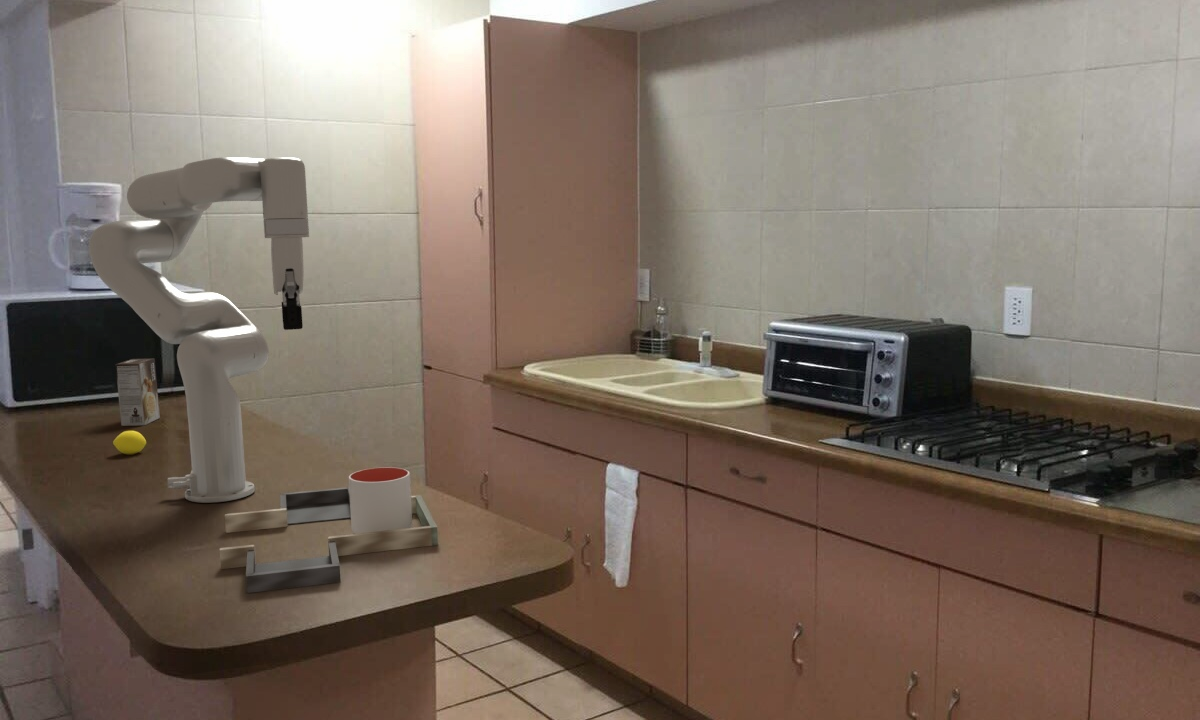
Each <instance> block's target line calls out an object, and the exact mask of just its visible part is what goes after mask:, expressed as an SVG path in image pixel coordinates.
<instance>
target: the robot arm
mask: <svg viewBox="0 0 1200 720" xmlns="http://www.w3.org/2000/svg"><path fill="white" fill-rule="evenodd" d="M307 198H308V197H307V178H306V166H305V164H304V161H303V160H302V159H300V158H297V157H268V158H259V157H256V158H255V157H253V158H252V157H235V156H234V157H233V156H232V157H230V156H229V157H222V156H221V157H214V158H208V159H203V160H197V161H192V162H189V163H187V164H185V165H184V166H183V167H178V168H175V169H169V170H163V171H159V172H154V173H153V172H152V173H148V174H145V175H142V176H139V177H138V178H136V179H135V180H134V181H132V183H130V185H129V187H128V189H127V191H126V200H127V203H128V205H129V207H130V208H131V210H132V211H133V212H135V213H136V214H137V215H139V216H140V217H143V218H146V219H135V220H134V219H127V220H126V219H125V220H124V219H123V220H114V221H111V222H107V223H104V224H102V225H100V226H98V227H97V228H95V230H93V232H92V233H91V235H90V238H89V243H88V251H89V252H88V253H89V257H90V259H91V263H92V266H93V268H94V270H95V272H96V274H97V275H98V277H99V278H100V280H101V281H102V282H103V283H104V285H106V286H107V287H108V289H110V290H111V291H112V292H113V293H114V294H115V295H117V296H118V297H119V298H120V299H122V300H123V301H124V302H125V303H126V304H127V305H129V307H130V308H131V309H132V310H133V311H134V312H135V313H136V315H138V317H140V319H142V320H143V322H145V323H146V325H147V326H148V327H149V328H150V329H151V330H152V331H153V332H154V333H155V334H156V335H157V337H159V338H160V339H162V340H163V341H164V342H166V343H168V344H172V345H179V346H178V347H177V353H176V360H177V366H178V368H179V372H180V376H181V379H182V384H183V388H184V394H185V400H186V412H187V413H186V414H187V422H188V425H187V426H188V435H189V450H190V460H191V461H190V462H191V470H190V474H185V475H184V476H180V477H179V476H172V477H167V488H169V489H171V488H173V490H178V489H185V488H186V490H185V492H184V497H185V499H186V500H187V501H189V502H194V503H201V504H203V503H205V504H206V503H207V504H208V503H211V504H214V503H222V502H223V503H224V502H229V501H235V500H239V499H242V498H245V497H247V496H250V495H252V494H253V493H254V492H255V491H256V488H255V484H254V483H253V482H251V481H248V480H247V479H246V466H245V462H246V461H245V451H244V437H243V424H242V423H243V421H242V410H241V402H240V401H241V400H240V397H239V396H238V393H237V391H236V390H235V388H234V387H233V384H232V383H231V381H230V378H234V377H240V376H244V375H250V374H253V373H256V372H258V371H259V370H261V369H263V367H265V365H266V364H267V362H268V359H269V356H270V354H269V353H270V351H269V345H268V343H267V340H266V338H265V336H264V335H263V333H262V331H260V329H259V328H258V326H256V325H255V324H254V323H253V322H252V321H251V320H250V319H249V318H248V317H247V316H246V315H245V314H244V313H243V311H241V310H240V308H238V307H237V306H236V305H235V304H234V303H233V302H232V301H231V300H230V299H228V298H227V296H224V295H222V294H220V293H217V292H213V291H200V292H199V291H198V292H183V291H180V290H179V289H178V288H177V287H175V286H174V285H173V284H172V283H171V282H170V280H168V278H166V277H165V276H164V275H163V274H162V273H160V272H158V271H156V270H154V269H153V268H152V267H149V266H146V265H144V264H153V263H166V262H169V261H172V260H174V259H176V258H177V257H179V256H180V254H181V253H182V252H183V251H184V249H185V247H186V245H187V243H188V242H189V240H190V238H191V236H192V235H193V233H194V232H195V231H194V230H195V229H196V227H197V226H198V224H199V222H200V219H201V218H202V216H203V213H204V212H206V210H208V209H210V208H211V206H212V204H213V203H222V202H261V203H262V216H263V217H262V218H263V232H264V239H270V243H271V244H270V251H271V252H270V253H271V254H270V255H271V273H272V286H273V288H272V289H273V294H274V295H276V296H278V295H279V292H281V293H282V301H281V314H282V315H281V317H282V323H283V324H282V326H283V327H282V329H283V330H285V331H288V330H302V329H303V312H302V305H301V301H300V300H301V299H300V295H301V294H302V293H303V291H304V275H305V274H304V246H303V238H310V230H309V229H310V228H309V213H308V199H307Z"/></svg>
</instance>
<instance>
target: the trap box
mask: <svg viewBox="0 0 1200 720" xmlns="http://www.w3.org/2000/svg"><path fill="white" fill-rule="evenodd" d="M279 500H280V501H279V503H280V507H279V508H273V509H264V510H254V511H243V512H231V513H225V514H224V522H225V524H224V525H225V533H226V534H227V533H236V532H237V533H239V532H247V531H257V530H265V529H268V530H269V529H277V528H278V529H279V528H287V527H288V526H291V525H300V524H308V523H310V524H311V523H318V522H319V523H321V522H330V521H338V520H339V521H340V520H348V519H349V520H351V512H350V494H349V486H348V487H338V488H337V487H336V488H325V489H316V490H305V491H304V490H303V491H294V492H285V493H279ZM411 508H412V515H413V514H415V515H417V517H418V520H419V522H420V523H421V526H414V527H411V528H405V529H396V530H386V531H377V532H368V533H358V534H354V533H350V534H343V535H340V534H339V535H331V536H330V535H329V536H327V541H328V543H327V544H328V555H327V556H326V555H324V556H316V557H315V556H314V557H308V558H307V557H306V558H298V559H290V560H282V561H281V560H280V561H272V562H271V561H270V562H263V563H257V562H256V551H255V550H256V548H255V544H247V545H238V546H236V545H235V546H227V547H220V548H219V561H220V562H219V563H220V570H226V569H235V568H243V567H246V569H245V584H246V594H250V593H260V592H268V591H276V590H284V589H293V588H301V587H311V586H318V585H326V584H335V583H336V584H337V583H341V565H340V561H339V560H340V559H339V557H341V556H352V555H360V554H367V553H368V554H369V553H376V552H377V553H378V552H384V551H385V552H387V551H396V550H405V549H414V548H422V547H431V546H438V545H439V539H438V537H439V534H438V525H437V524H436V522H435V520H434V518H433V516H432V514H431V512H430V510H429V508H428V506H427V504H426V503H425V500H424V499H423V497H422V495H421V494H417V495H411Z"/></svg>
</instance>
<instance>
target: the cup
mask: <svg viewBox="0 0 1200 720" xmlns="http://www.w3.org/2000/svg"><path fill="white" fill-rule="evenodd" d="M348 487H349V494H350V512H351V518H350V525H351V531H352V533H353V534H358V533H368V532H377V531H386V530H396V529H405V528H412V525H413V514H412V508H411V496H412V491H411V489H412V488H411V473H410V471H409V470H407V469H404V468H401V467H392V466H389V467H388V466H387V467H385V466H384V467H383V466H382V467H373V468H372V467H371V468H366V469H361V470H357V471H355V472H352V473H350V475H348Z"/></svg>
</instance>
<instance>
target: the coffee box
mask: <svg viewBox="0 0 1200 720" xmlns="http://www.w3.org/2000/svg"><path fill="white" fill-rule="evenodd" d="M115 372H116V383H117V392H118V394H117V395H118V403H119V404H118V405H119V415H120V425H121V426H124V427H125V426H126V427H127V426H128V427H129V426H132V427H133V426H147V425H148V424H151V423H152V422H154V421H157V420H158V419H160V418H161V415H160V406H159V405H160V404H159V393H158V383H157V382H158V381H157V371H156V360H155V358H131V359H129V360H125V361H122V362H118V363H116V364H115Z"/></svg>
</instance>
